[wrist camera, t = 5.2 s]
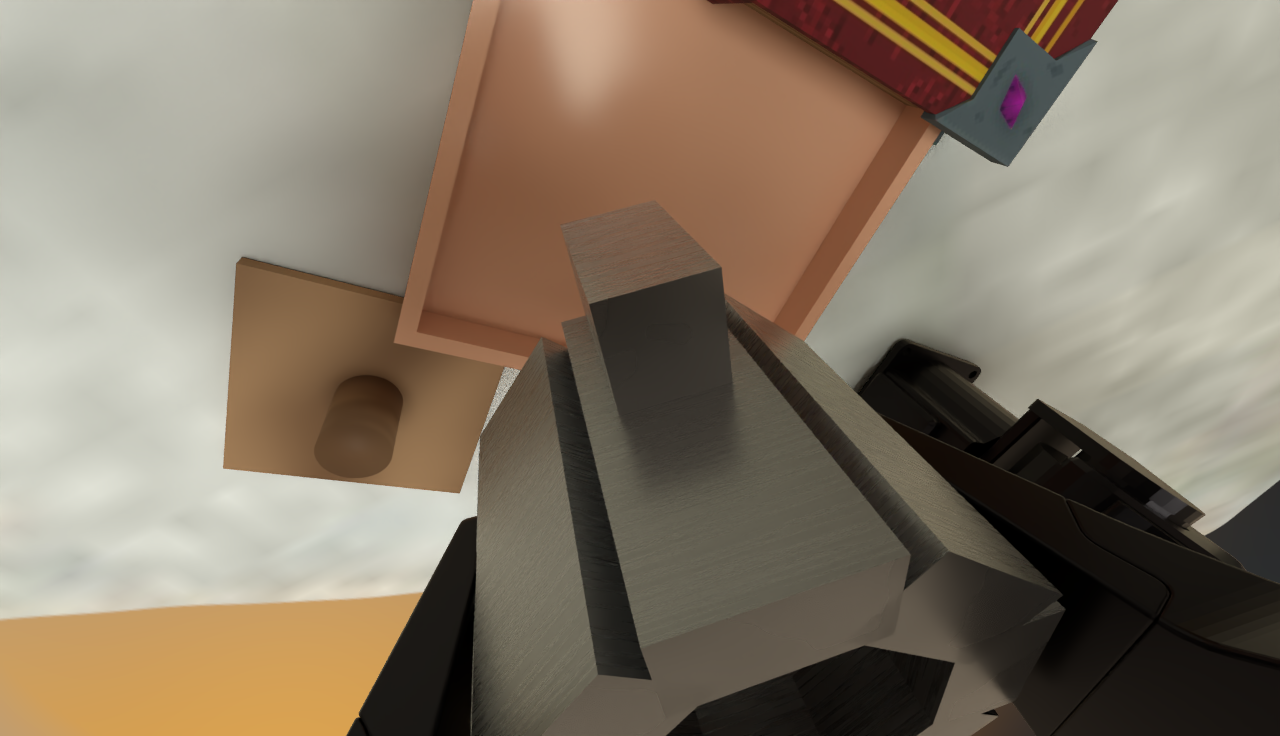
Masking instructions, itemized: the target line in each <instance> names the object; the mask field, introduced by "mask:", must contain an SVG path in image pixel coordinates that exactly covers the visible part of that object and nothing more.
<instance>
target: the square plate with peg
mask: <svg viewBox="0 0 1280 736" xmlns="http://www.w3.org/2000/svg"><path fill="white" fill-rule="evenodd" d="M403 300H404V298H403V297H399V296H395V295H391V294H387V293H383V292H379V291H375V290H371V289H367V288H363V287H359V286H355V285H351V284H347V283H343V282H339V281H335V280H331V279H327V278H323V277H319V276H315V275H311V274H307V273H303V272H299V271H295V270H291V269H287V268H283V267H279V266H275V265H271V264H267V263H263V262H259V261H255V260H251V259H247V258H243V257H242V258H241V259H240V260H239V261H238V262H237V263H236V277H235V292H234V308H233V324H232V339H231V355H230V370H229V386H228V401H227V417H226V433H225V448H224V464H223V468H224V469H234V470H243V471H253V472H262V473H272V474H281V475H291V476H300V477H310V478H319V479H328V480H338V481H347V482H357V483H366V484H376V485H385V486H395V487H404V488H414V489H423V490H432V491H442V492H451V493H460V491H461V488H462V485H463V482H464V479H465V476H466V474H467V471H468V468H469V465H470V462H471V460H472V457H473V454H474V451H475V448H476V445H477V443H478V440H479V437H480V434H481V431H482V429H483V426H484V423H485V420H486V417H487V414H488V412H489V409H490V406H491V403H492V400H493V397H494V395H495V392H496V389H497V386H498V383H499V381H500V378H501V375H502V372H503V369H504V366H500V365H495V364H490V363H486V362H481V361H476V360H472V359H467V358H462V357H458V356H453V355H448V354H444V353H439V352H434V351H430V350H425V349H420V348H416V347H411V346H406V345H402V344H397V343H394V339H395V335H396V331H397V326H398V322H399V318H400V313H401V309H402V305H403Z"/></svg>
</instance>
